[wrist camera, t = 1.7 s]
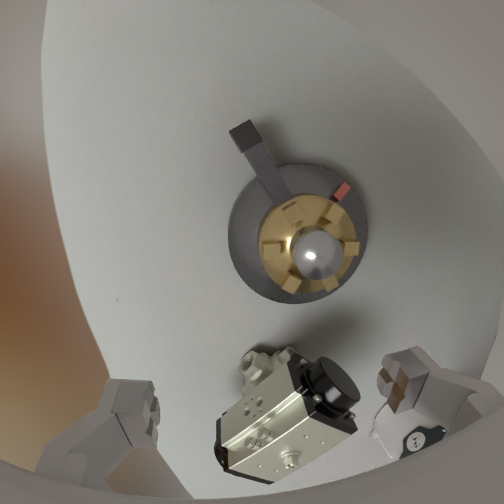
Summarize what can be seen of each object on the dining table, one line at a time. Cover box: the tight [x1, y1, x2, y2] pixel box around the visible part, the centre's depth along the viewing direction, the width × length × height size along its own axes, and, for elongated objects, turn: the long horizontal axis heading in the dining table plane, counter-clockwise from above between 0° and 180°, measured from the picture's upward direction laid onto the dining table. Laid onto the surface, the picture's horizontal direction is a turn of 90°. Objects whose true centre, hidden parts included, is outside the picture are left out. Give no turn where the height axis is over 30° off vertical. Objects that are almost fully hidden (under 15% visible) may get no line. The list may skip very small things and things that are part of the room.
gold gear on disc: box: [228, 164, 368, 304], centre depth 30 cm, size 16×16×10 cm
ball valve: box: [214, 346, 361, 485], centre depth 32 cm, size 18×8×18 cm, turn 139°
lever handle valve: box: [229, 119, 360, 295], centre depth 28 cm, size 18×10×4 cm, turn 31°
